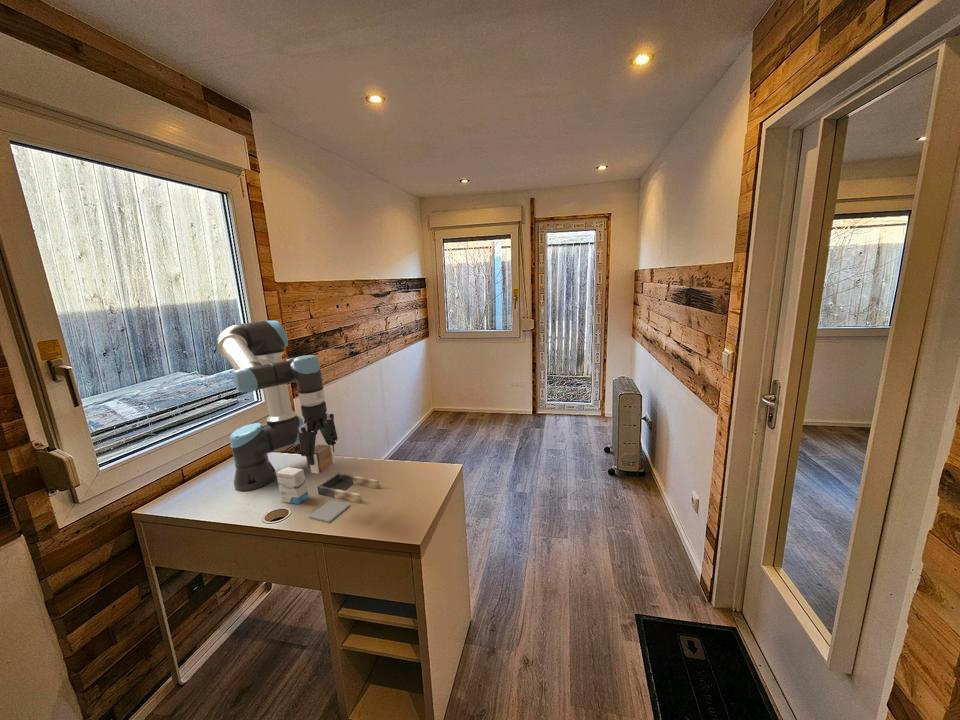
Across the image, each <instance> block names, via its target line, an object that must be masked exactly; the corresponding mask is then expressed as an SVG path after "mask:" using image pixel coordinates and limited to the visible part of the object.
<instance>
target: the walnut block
mask: <svg viewBox="0 0 960 720" xmlns="http://www.w3.org/2000/svg"><path fill="white" fill-rule="evenodd" d="M314 454H316V455H317V461H318V467H319V473H318V474H321V473H323V472H324V471H326V470H327V469H328V468H330V467H331V466H332V465H333V463H332V458H331V451H330V445H328V444H327V445H326V444H315V450H314ZM305 459H306V464H307V470H308V471H307V472H308V473H309V472H310V473H311V467H310V465H309V464H308V459H307V457H306V456H305Z"/></svg>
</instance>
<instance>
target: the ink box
mask: <svg viewBox="0 0 960 720" xmlns="http://www.w3.org/2000/svg"><path fill="white" fill-rule="evenodd" d="M304 470H305V469H302V468H296V467H291V466H290V467H289V466H286V467H284V468H282V469H281V470H278V471H276V475H277V476H276V480H277V484H278V490H279V495H280V496H279V497H280V500H281V501H280V502H283V503H290V504H294V505H295V504H296V505H300V504H302V503H303V502H305V500H307V499H308V498H309V493H308V489H307V488H308V487H307V483H306V477H305V471H304Z"/></svg>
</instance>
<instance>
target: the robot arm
mask: <svg viewBox="0 0 960 720" xmlns="http://www.w3.org/2000/svg"><path fill="white" fill-rule="evenodd" d="M288 339H289V338H288V336H287V332H286V330H285V328H284V326H283V325H282V323H281V322H280V321H278V320H261V321H255V322H246V323H236V324H232V325H230V326H228V327H226V328H225V329H224V330H222V331H221V332H220V333H219V335H218V336H217V338H216V341H215V346H216V350H217V352H218V353H219V355H221V356H222V357H223V358H226V359H227V361H228V362H229V363H230V365H231V366H232V368H233V370H234V371H233V383H234V384H235V387H236V390H237V391H238V393H241V394H242V393H249V392H255V391H259V390H263V391H264V394H265V399H266V404H267V409H268V414H269V416H268V417H266V418H267V419H266V421H265V422H266V424H264V425H263V424H262V423H260V422H255V423H250V424H249V423H248V424H246V425H243V426H241V427H239V428H237V429H235V430H234V431H233V432H232V433H231V434H230V436H229V441H230V442H229V443H230V448H231V452H232V456H233V462H234V466H235V473H234V478H233V486H234V490H235V491H239V492H246V491H247V492H248V491H254V490H257V489H260V488H263V487H264V486H265V487H266V486H267V485H269V484H271V483H272V482H274V480H276V479H277V475H276V473H277V470H276V469H275V467H274V466H273V464H272V463H271V461H270V460H269V459H270V458H269V456H268V454H270V453H274V452H277V451H280V450H282V449H286V448H289V447H293V446H295V445H298V444H299V448H300V456H302V457H305V458H306V457H307V459H308V464H309V465H310V467H311V472H310V473H312V474H316V475H318V474H320V473H319V467H318V461H317V455H316V454H314V450H315V446H316V441H317V440H316V438H317V435H318V431H320V434H321V435H322V437H323V440H324V441H325V443H326V444H325V445H330V451H331V458H332V465H333V464H335V463H336V458H335V447H334V446H335V445H336V444H337V441H338V440H339V438H338V435H337V428H336V425H335V421H334V418H335V416H334V415H335V414H334V413H327V411H328V408H327V403H326V401H325V400H326V397H325V391H324V384H323V378H322V369H321V363H320V359H319V357H318V356H317V355H316V354H312V355H311V354H307V355H298V356H297V357H291V358H287V359H286V360H284V361H283V357H282V356H283V355H284V353H285V348H286V347H288V346H289V340H288ZM291 383H296V386H297V392H298V393H297V394H298V400H299V404H300V405H301V406H300V410H301V411H300V412H301V416H302V417H303V418H302V417H301V416H300V415H298V414H297V412H295V411H293V409H292V404H291V399H290V393H289V388H288V384H291ZM303 419H304V420H303ZM307 459H306V460H307Z"/></svg>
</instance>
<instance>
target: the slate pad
mask: <svg viewBox="0 0 960 720" xmlns="http://www.w3.org/2000/svg"><path fill="white" fill-rule="evenodd" d="M350 507H351V504H348V503H345V502H341V501H336V500H332V499H331V500H329V501H327V502H326V503H325V504H323V505H322V506H320V507H319V508H318V509H316V510H315V511H314V512H312V513H311V514H310V515H308V518H309V519H312V520H315V521H319V522H324V523H328V524H330V523H331V522H332V521H333V520H335V519H336V518H337V517H338V516H340V515H341V514H342V513H343V512H344V511H345V510H347V509H348V508H350Z"/></svg>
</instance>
